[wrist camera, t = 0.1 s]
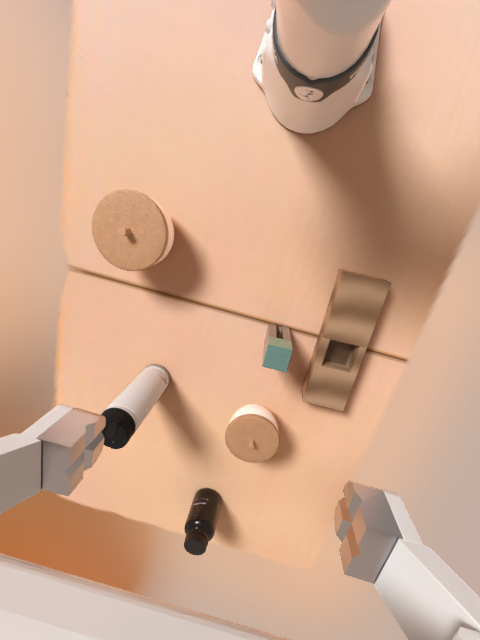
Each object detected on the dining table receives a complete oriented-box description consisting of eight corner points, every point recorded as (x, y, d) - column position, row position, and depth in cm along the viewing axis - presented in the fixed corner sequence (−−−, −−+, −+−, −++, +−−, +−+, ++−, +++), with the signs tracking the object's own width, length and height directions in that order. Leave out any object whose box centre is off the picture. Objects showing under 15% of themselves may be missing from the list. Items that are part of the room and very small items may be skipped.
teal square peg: (269, 322, 58) (268, 344, 46) (289, 327, 58) (292, 350, 46) (264, 340, 59) (262, 366, 48) (284, 345, 59) (286, 372, 47)
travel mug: (175, 370, 63) (132, 428, 44) (164, 393, 65) (119, 459, 46) (148, 357, 63) (94, 411, 44) (139, 382, 65) (83, 443, 46)
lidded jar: (221, 407, 65) (212, 435, 56) (263, 387, 62) (261, 413, 53) (246, 444, 67) (242, 476, 58) (288, 426, 64) (290, 457, 55)
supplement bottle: (204, 482, 71) (191, 529, 60) (226, 497, 72) (217, 547, 60) (189, 498, 73) (173, 546, 62) (210, 513, 74) (198, 564, 62)
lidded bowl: (188, 205, 53) (167, 198, 43) (177, 272, 57) (155, 281, 47) (123, 189, 54) (86, 178, 43) (116, 256, 58) (80, 261, 47)
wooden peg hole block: (339, 269, 53) (344, 272, 50) (382, 279, 53) (391, 282, 49) (301, 390, 61) (302, 401, 57) (338, 400, 61) (343, 411, 57)
